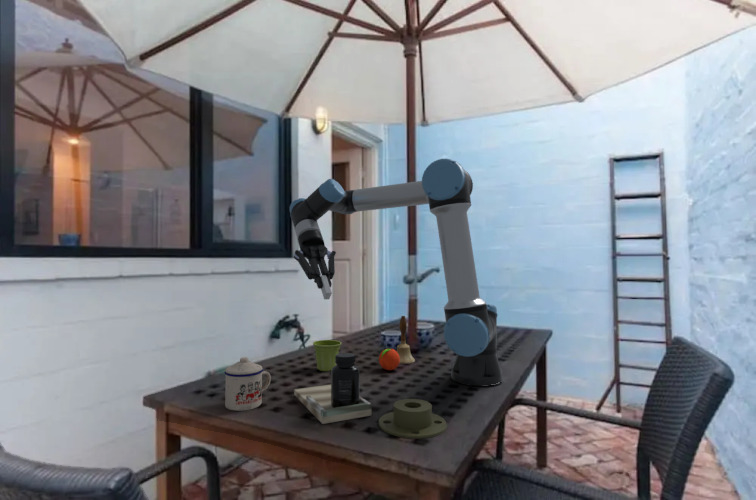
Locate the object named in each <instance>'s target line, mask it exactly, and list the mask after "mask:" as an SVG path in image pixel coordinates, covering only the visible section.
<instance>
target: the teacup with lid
mask: <svg viewBox="0 0 756 500" xmlns="http://www.w3.org/2000/svg"><path fill="white" fill-rule="evenodd" d="M224 375H225V388H224V389H225V390H224V391H225V392H224V393H225V395H224V402H225V403H224V406H225V408H226V409H227V410H230V411H237V412H238V411H240V412H241V411H249V410H250V411H251V410H254V409H256V408H258V407H260V406H261V405H262V404H263V403H262V399H263V398H262V396H263V395H262V394H263V392H264V391H266V390H267V389H268V387H269V385H270V384H271V379H272V375H271V373H270V372H268V371H265V370H264V368H263V366H262V365H260V364H259V363H254V362H253V361H251V360H250V361H249V357H247V356H244V357H240V359H239V361H237V362H236V363H234V364H231V365H230V366H228V367H226V368H225V371H224ZM263 375H266V382H265V383H264V385H263Z"/></svg>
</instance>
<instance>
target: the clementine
mask: <svg viewBox="0 0 756 500" xmlns="http://www.w3.org/2000/svg"><path fill="white" fill-rule="evenodd" d="M378 362H379V365H380V367H381V368H382V369H384V370H385V371H393V370H396V369H397V368H398V367H399V366H400V356H399V354H398V353H397V350H395V349H394V348H391V347H390V348H389V347H388V348H386V349H383V350H382V351H381V352H380V353H379V356H378Z"/></svg>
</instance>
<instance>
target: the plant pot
mask: <svg viewBox="0 0 756 500" xmlns="http://www.w3.org/2000/svg"><path fill="white" fill-rule="evenodd" d="M312 345H313V346H314V350H315V359H316V369H317V370H319V371H320V372H331V370H332V368H333V367H334V366H336V363H335V356H336V355H337V354H339V353H340V352H339V350H340V348H341V345H342V342H341V341H340V340H334V339H320V340H315V341H312Z"/></svg>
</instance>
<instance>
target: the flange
mask: <svg viewBox="0 0 756 500" xmlns="http://www.w3.org/2000/svg"><path fill="white" fill-rule="evenodd" d="M432 410H433V405H432V404H431V403H430V402H429V401H427V400H424V399H418V398H403V399H399V400H397V401H395V402H393V411H390V412H387V413H384V414H383V415H382V416H381V417H379V419H378V426H379V428H380V430H381V431H384V432H385V433H386V434H388V435H391V436H395V437H399V438H404V439H413V440H414V439H429V438H433V437H437V436H439V435H442V434H443V433H444V432H446V430H447V429H448V428H447V427H448V425H447V423H448V422H447V421H446V419H444V418H443V417H442V416H440V415H438V414H436V413H433V411H432Z"/></svg>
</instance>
